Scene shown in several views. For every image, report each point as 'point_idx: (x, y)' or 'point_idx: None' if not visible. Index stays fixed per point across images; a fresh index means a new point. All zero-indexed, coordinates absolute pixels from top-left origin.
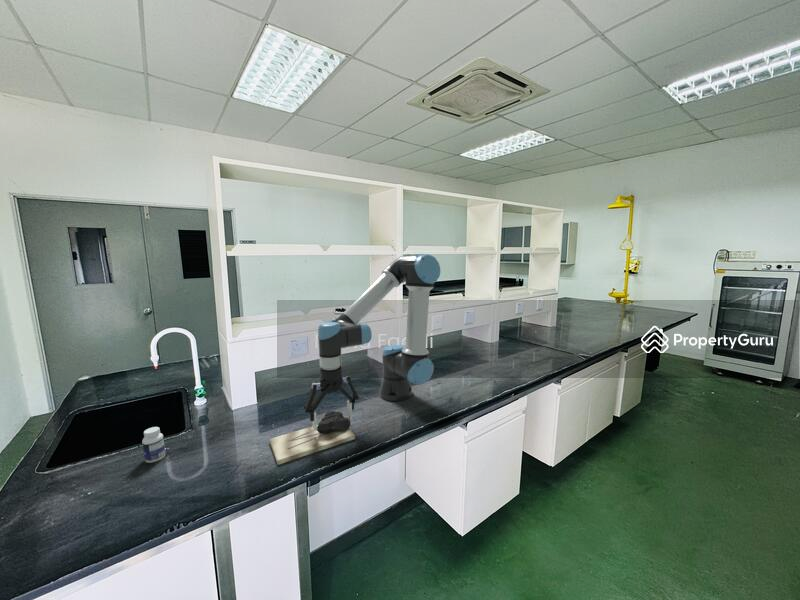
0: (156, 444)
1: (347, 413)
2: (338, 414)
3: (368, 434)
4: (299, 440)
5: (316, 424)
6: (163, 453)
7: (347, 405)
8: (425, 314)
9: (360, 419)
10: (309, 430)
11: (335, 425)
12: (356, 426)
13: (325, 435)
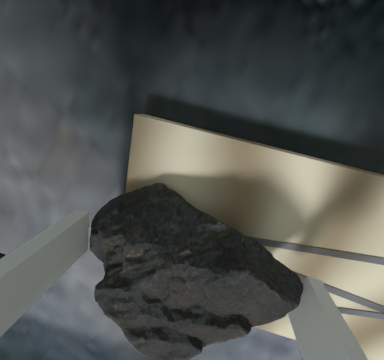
0: None
1: (69, 267)
2: (122, 297)
3: (70, 95)
4: (366, 286)
5: (331, 317)
6: None
7: (4, 326)
8: None
9: (48, 225)
10: None
11: (194, 232)
12: (86, 196)
13: (250, 229)
